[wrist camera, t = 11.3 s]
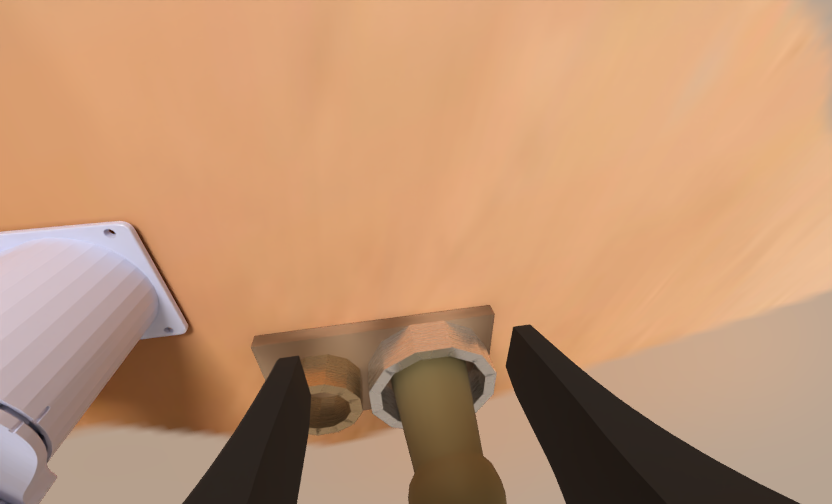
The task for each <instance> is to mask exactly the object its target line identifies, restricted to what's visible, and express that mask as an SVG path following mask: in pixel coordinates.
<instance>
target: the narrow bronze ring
mask: <svg viewBox="0 0 832 504" xmlns="http://www.w3.org/2000/svg"><path fill="white" fill-rule="evenodd" d="M301 364H302V367H303V370H304V373H305V377H306V380H307V383H308V387H309V390H310V393H311V394H317V393H323V392H324V393H329V394H335V395H336V396H330V397H324V398H320V397H314V396H311V408H310V424H309V433H308V434H311V435H323V434H329V433H335V432H339V431H341V430H343V429H345V428H347V427H349V426H350V425H352V424H354V423H355V422H356V421H357V419H358V418H359V416H360V415H361V413H362V412H363V390H362V377H361V372H360V368H358V367H357V366H356V365H355V364H353V363H352V362H351V361H350V360H349V359H347V358H343V357H338V356H334V355H329V354H325V355H318V356H311V357H305V358H304V359H302V360H301Z"/></svg>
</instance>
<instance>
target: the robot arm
mask: <svg viewBox="0 0 832 504" xmlns="http://www.w3.org/2000/svg"><path fill="white" fill-rule="evenodd" d="M109 229H111V230H113V231H114V232H115V233H116V234H113V233H111V232H110V231H109ZM168 327H169V328H168ZM170 328H172V329H170ZM187 329H188V324H187V322H186V320H185V318H184V316H183V315H182V313H181V311H180V309H179V307H178V306H177V304H176V302H175V300H174V299H173V297H172V295H171V293H170V291H169V290H168V288H167V286H166V284H165V282H164V281H163V279H162V277H161V275H160V273H159V272H158V270H157V268H156V266H155V264H154V263H153V261H152V259H151V257H150V255H149V254H148V252H147V250H146V248H145V246H144V245H143V243H142V241H141V239H140V238H139V236H138V234H137V232H136V230H135V229H134V227H133V226H132V225H131V224H129V223H127V222H124V221H113V222H102V223H91V224H80V225H69V226H58V227H47V228H36V229H25V230H14V231H3V232H0V504H39V503H40V502H41V500H42V499H43V497H44V496H45V494H46V493H47V492H48V490H49V489H50V487H51V486H52V484H53V483H54V482H55V480H56V479H57V475H55V474H54V473H52V472H51V471H50V470H49V468H48V467H47V462H48V461H49V460H50V459H51V457H52V456H53V455H54V453H55V452H56V451H57V449H58V448H59V447H60V445H61V444H62V443H63V441H64V440H65V439H66V437H67V436H68V435H69V433H70V432H71V431H72V429H73V428H74V427H75V425H76V424H77V423H78V421H79V420H80V419H81V417H82V416H83V415H84V413H85V412H86V411H87V409H88V408H89V407H90V405H91V404H92V403H93V401H94V400H95V398H96V397H97V396H98V394H99V393H100V392H101V390H102V389H103V388H104V386H105V385H106V384H107V382H108V381H109V380H110V378H111V377H112V376H113V374H114V373H115V372H116V370H117V369H118V368H119V366H120V365H121V364H122V362H123V361H124V360H125V358H126V357H127V356H128V354H129V353H130V352H131V350H132V349H133V348H134V346H135V345H136V344H137V342H138V341H139V340H141V339H149V338H156V337H164V336H172V335H180V334H184V333H185V332H186V331H187ZM506 368H507V371H508V374H509V377H510V380H511V383H512V385H513V388H514V391H515V394H516V396H517V398H518V400H519V402H520V404H521V406H522V408H523V410H524V412H525V414H526V416H527V418H528V420H529V423H530V425H531V427H532V429H533V431H534V433H535V435H536V437H537V439H538V441H539V443H540V445H541V447H542V449H543V451H544V453H545V455H546V456H547V459H548V461H549V463H550V465H551V467H552V470H553V472H554V474H555V477H556V479H557V482H558V484H559V487H560V489H561V491H562V494H563V497H564V499H565V502H566V504H800V503H798V502H796V501H794V500H792V499H790V498H788V497H785V496H784V495H781V494H779V493H777V492H775V491H773V490H771V489H769V488H767V487H765V486H763V485H761V484H759V483H757V482H755V481H753V480H751V479H750V478H748V477H746V476H744V475H742V474H740V473H738V472H736V471H735V470H733V469H731V468H729V467H727V466H726V465H724V464H722V463H720V462H718V461H716V460H715V459H713V458H711V457H709V456H708V455H706V454H704V453H702V452H701V451H699V450H697V449H695V448H694V447H692V446H690V445H689V444H687V443H686V442H684V441H682V440H681V439H679V438H677V437H676V436H674V435H672V434H671V433H669V432H668V431H666V430H664V429H663V428H661V427H660V426H658V425H656V424H655V423H654V422H652V421H650V420H649V419H648V418H646V417H645V416H643V415H642V414H640V413H639V412H637V411H636V410H634V409H633V408H631V407H630V406H629V405H627V404H626V403H624V402H623V401H622V400H620V399H619V398H618V397H616V396H615V395H613V394H612V393H611V392H610V391H608V390H607V389H606V388H604V387H603V386H602V385H600V384H599V383H598V382H596V381H595V380H594V379H593V378H592V377H590V376H589V375H588V374H587V373H586V372H584V371H583V370H582V369H581V368H579V367H578V366H577V365H576V364H575V363H573V362H572V361H571V360H570V359H569V358H568V357H566V356H565V355H564V354H563V353H562V352H561V351H560V350H558V349H557V348H556V347H555V346H554V345H553V344H552V343H550V342H549V341H548V340H547V339H546V338H545V337H544V336H542V335H541V334H540V333H539V332H538V331H537V330H536V329H535V328H533V327H532V326H531V325H523V326H516V327H513V331H512V336H511V342H510V347H509V352H508V357H507V362H506ZM310 408H311V393H310V390H309V387H308V383H307V380H306V377H305V373H304V370H303V367H302V364H301V360H300V357H299V356H292V357H284V358H279V359H278V360H277V361H276V363H275V365H274V367H273V368H272V370H271V372H270V374H269V376H268V377H267V379H266V381H265V383H264V384H263V386H262V388H261V390H260V391H259V393H258V395H257V396H256V398H255V400H254V401H253V403H252V405H251V406H250V408H249V410H248V411H247V413H246V414H245V416H244V418H243V419H242V421H241V422H240V424H239V426H238V427H237V429H236V430H235V432H234V433H233V435H232V436H231V438H230V439H229V440H228V442H227V443H226V445H225V447H224V448H223V449H222V451H221V452H220V454H219V455H218V457H217V458H216V459H215V461H214V462H213V464H212V465H211V466H210V468H209V469H208V471H207V472H206V473H205V475H204V476H203V477H202V479H201V480H200V481H199V483H198V484H197V485H196V487H195V488H194V489H193V491H192V492H191V493H190V494H189V496H188V497H187V498H186V500H185V501H184V502H183V503H182V504H297V499H298V493H299V487H300V481H301V475H302V469H303V463H304V457H305V451H306V445H307V439H308V433H309V424H310Z"/></svg>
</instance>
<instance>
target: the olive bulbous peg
mask: <svg viewBox="0 0 832 504" xmlns="http://www.w3.org/2000/svg"><path fill="white" fill-rule="evenodd" d="M390 380H391V383H392V387H393V391H394V395H395V399H396V403H397V407H398V410H399V414H400V418H401V422H402V426H403V430H404V434H405V438H406V441H407V445H408V449H409V453H410V457H411V461H412V465H413V469H414V472H415V474H414V476H413V479H412V481H411V483H410V485H409V496H408V500H409V504H506V495H505V490H504V488H503V484H502V481H501V479H500V477H499V475H498V474H497V472H496V470H495V468H494V467H493V465H492V463H491V462H490V461H489V460H487V459H486V458H485V457H484V456H483V453H482V447H481V443H480V436H479V431H478V425H477V420H476V415H475V409H474V404H473V398H472V393H471V388H470V382H469V377H468V371H467V366H466V361H465V360H462V359H458V358H454V357H450V356H447V357H440V358H433V359H426V360H419V361H417V362H415V363H414V364H412V365H410V366H408V367H406V368H404V369H403V370H401V371H399V372H397V373H395V374H394V375H393V376H392V377H391V379H390Z"/></svg>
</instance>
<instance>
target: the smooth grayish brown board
mask: <svg viewBox="0 0 832 504" xmlns="http://www.w3.org/2000/svg"><path fill="white" fill-rule="evenodd" d="M494 315H495V314H494V312H493V310H492V308H491V306H490V305H487V306H479V307H472V308H464V309H456V310H449V311H441V312H434V313H426V314H418V315H411V316H403V317H396V318H388V319H381V320H373V321H365V322H358V323H350V324H343V325H335V326H327V327H320V328H312V329H305V330H297V331H289V332H282V333H274V334H267V335H259V336H255V337H254V339H253V342H252V345H251V349H252V351H253V353H254V356H255V358H256V360H257V362H258V365H259V367H260V369H261V372H262V374H263V376H264V378H265V381H266V379H267V377H268V376H269V374H270V372H271V370H272V368H273V367H274V365H275V363H276V361H277V360H278V359H279V358H284V357H292V356H299V357H300V360H302V359H304V358H305V357H311V356H318V355H325V354H329V355H334V356H338V357H343V358H347V359H349V360H350V361H351V362H352V363H353V364H355V365H356V366H357V367H358V368H360V372H361V377H362V390H363V410H369V409H372V407H371V402H370V396H369V382H368V362H369V361H370V359H371V357H372V356H373V354H374V353H375V351H376V349H377V348H378V346H379V345H380V343H381V341H383V340H385V339H387V338H388V337H390V336H392V335H393V334H395V333H397V332H399V331H400V330H402V329H404V328H406V327H407V326H409V325H414V324H422V323H429V322H436V321H447V322H450V323H454V324H457V325H460V326H464V327H467V328H470V329H472V330H473V331H474V333H475V334H476V335H477V337H478V338H479V339H480V340H481V342H482V343H483V344H484V346H485V347H486V350H487V352H488V354H490V346H491V338H492V331H493V323H494ZM465 361H466V360H465ZM473 365H474V363H473V362H470V361H466V366H467V371H468V372H469V371H470V370H471V369H472V368H473ZM387 386H388V387H390V388H391V389H392V390H393V387H392V383H391V380H389V382H388V383H387ZM311 396H314V397H320V398H324V397H330V396H336V395H335V394H329V393H324V392H323V393H317V394H311Z"/></svg>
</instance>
